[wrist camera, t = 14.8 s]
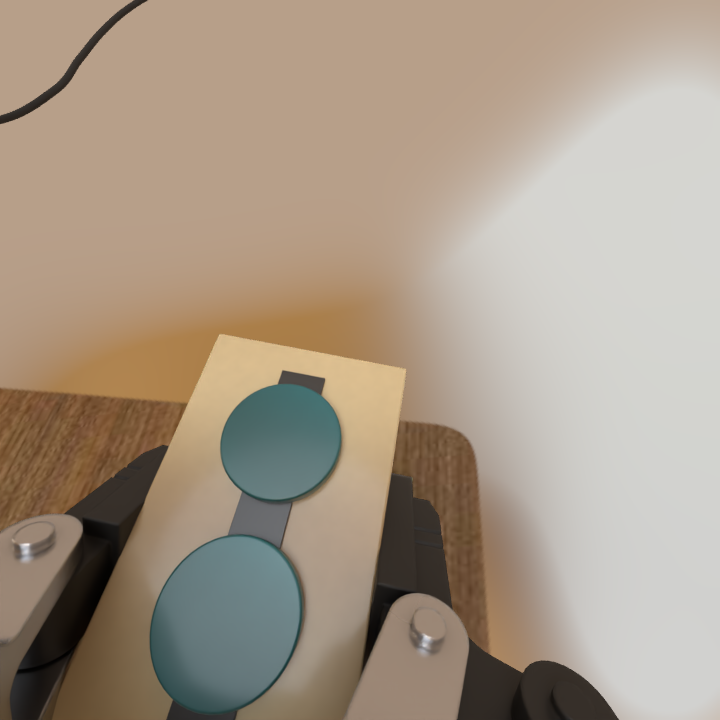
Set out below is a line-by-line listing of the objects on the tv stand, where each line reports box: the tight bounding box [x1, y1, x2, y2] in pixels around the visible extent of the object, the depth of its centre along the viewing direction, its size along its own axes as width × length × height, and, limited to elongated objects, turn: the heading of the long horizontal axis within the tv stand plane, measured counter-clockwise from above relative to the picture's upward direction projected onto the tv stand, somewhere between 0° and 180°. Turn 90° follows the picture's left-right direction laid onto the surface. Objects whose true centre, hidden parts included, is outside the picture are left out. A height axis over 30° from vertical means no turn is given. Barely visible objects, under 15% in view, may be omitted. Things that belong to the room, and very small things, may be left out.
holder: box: [52, 334, 406, 720], centre depth 10 cm, size 9×5×7 cm, turn 169°
